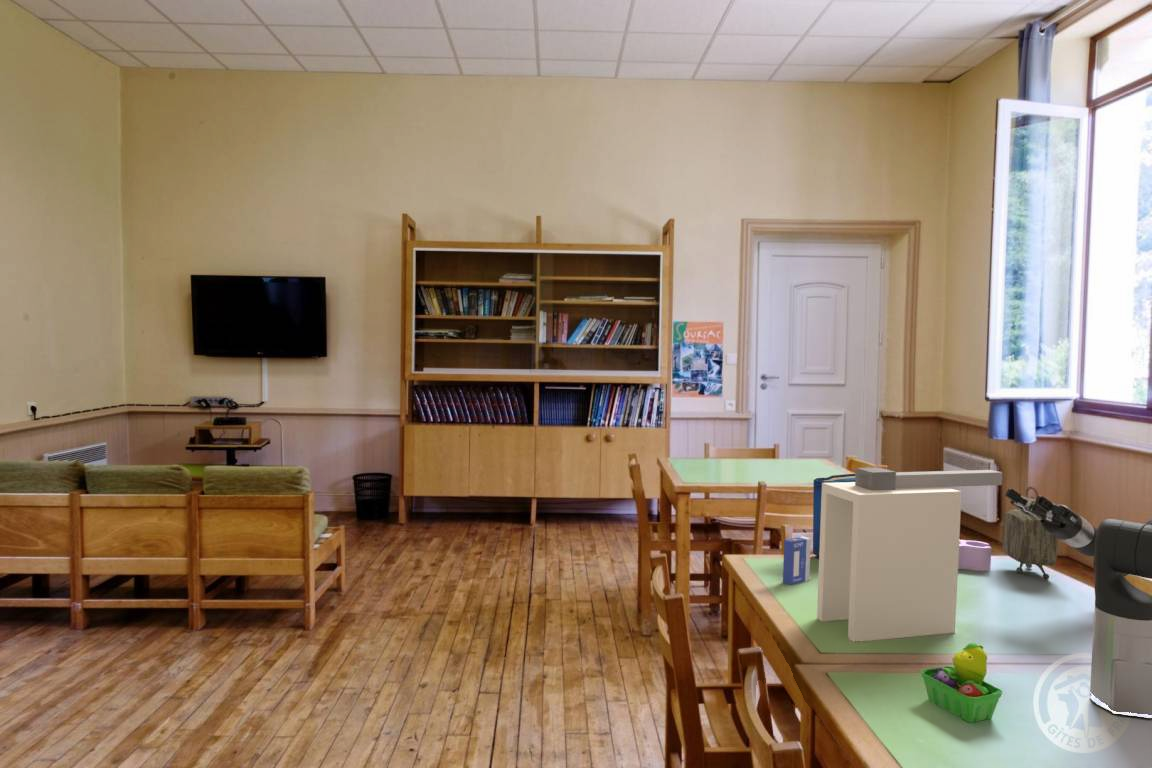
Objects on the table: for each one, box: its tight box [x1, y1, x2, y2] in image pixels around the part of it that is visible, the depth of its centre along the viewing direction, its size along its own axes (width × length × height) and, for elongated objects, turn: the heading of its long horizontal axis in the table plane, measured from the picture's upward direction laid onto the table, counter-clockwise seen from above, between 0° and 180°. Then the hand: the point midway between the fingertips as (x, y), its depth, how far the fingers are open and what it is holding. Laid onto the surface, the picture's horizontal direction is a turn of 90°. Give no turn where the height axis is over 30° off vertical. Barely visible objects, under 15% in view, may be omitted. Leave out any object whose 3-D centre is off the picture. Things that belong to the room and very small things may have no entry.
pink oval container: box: [958, 538, 992, 572], centre depth 219 cm, size 20×12×7 cm, turn 69°
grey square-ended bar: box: [855, 467, 1003, 490], centre depth 170 cm, size 36×6×4 cm, turn 104°
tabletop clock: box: [1001, 486, 1059, 580], centre depth 211 cm, size 14×9×25 cm, turn 171°
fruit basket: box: [920, 642, 1003, 724], centre depth 130 cm, size 11×9×11 cm
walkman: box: [782, 535, 812, 586], centre depth 200 cm, size 8×3×12 cm, turn 123°
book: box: [812, 473, 856, 558], centre depth 224 cm, size 22×7×25 cm, turn 105°
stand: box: [816, 482, 963, 643], centre depth 168 cm, size 26×14×32 cm, turn 104°
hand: (1022, 495), depth 177 cm, fingers open, 8 cm apart
